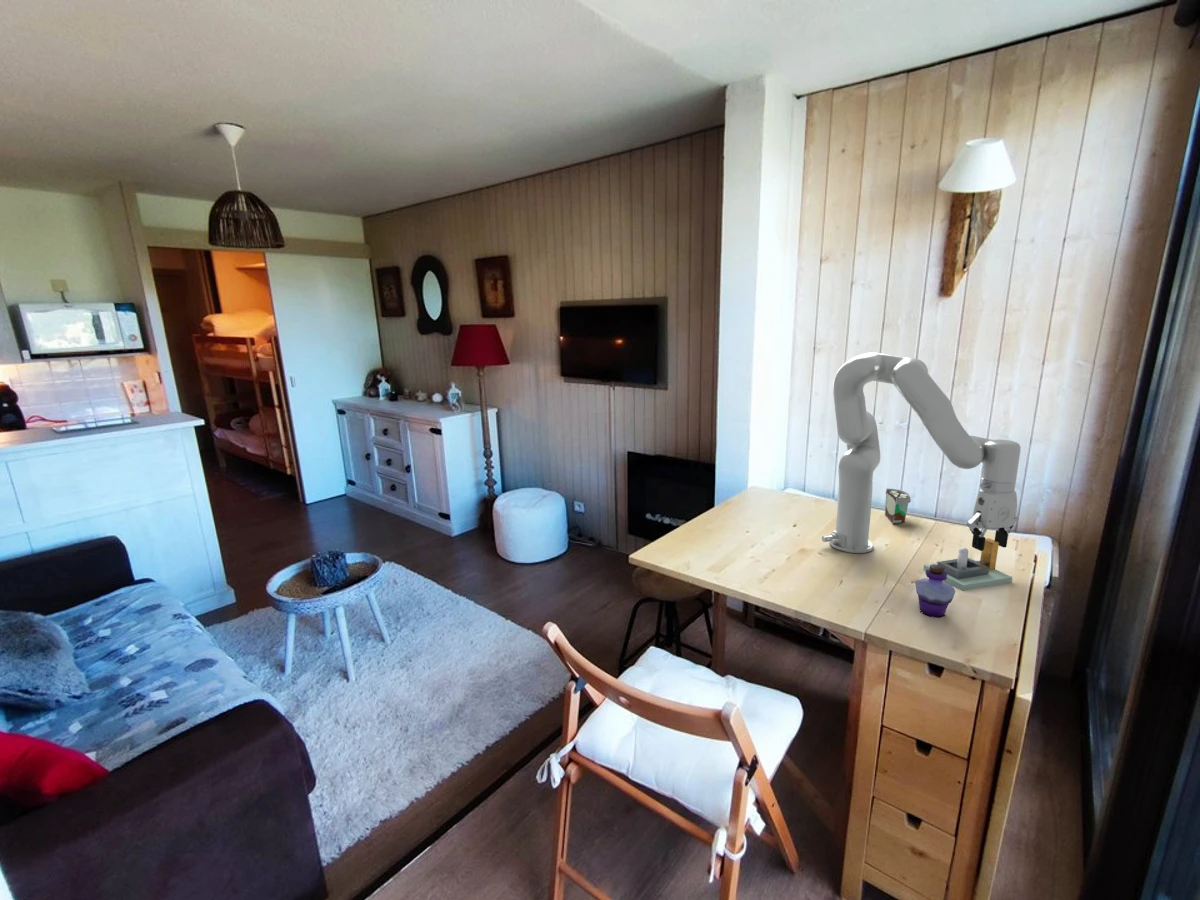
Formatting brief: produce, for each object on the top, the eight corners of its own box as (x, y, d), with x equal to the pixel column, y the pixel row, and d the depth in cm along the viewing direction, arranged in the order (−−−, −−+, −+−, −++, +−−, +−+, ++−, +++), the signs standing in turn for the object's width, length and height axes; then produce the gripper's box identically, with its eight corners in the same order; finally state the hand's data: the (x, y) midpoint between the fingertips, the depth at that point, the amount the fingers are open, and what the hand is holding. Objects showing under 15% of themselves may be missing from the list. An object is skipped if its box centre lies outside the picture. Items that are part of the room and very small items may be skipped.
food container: (913, 527, 187) (916, 499, 185) (894, 526, 189) (896, 498, 186) (901, 514, 199) (904, 488, 197) (883, 514, 200) (886, 487, 198)
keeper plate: (962, 590, 144) (966, 560, 142) (923, 569, 156) (926, 541, 154) (1011, 582, 147) (1016, 552, 145) (969, 562, 160) (973, 534, 158)
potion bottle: (937, 602, 138) (943, 558, 136) (960, 620, 130) (967, 573, 127) (904, 603, 138) (908, 559, 136) (925, 622, 130) (930, 575, 127)
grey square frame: (958, 579, 147) (961, 551, 145) (936, 568, 153) (939, 541, 151) (1001, 572, 150) (1005, 545, 148) (978, 561, 157) (982, 535, 155)
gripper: (983, 493, 142) (975, 556, 146) (1037, 486, 146) (1027, 548, 150) (959, 485, 149) (951, 546, 153) (1010, 479, 153) (1001, 538, 157)
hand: (989, 546), depth 151 cm, fingers open, 7 cm apart
